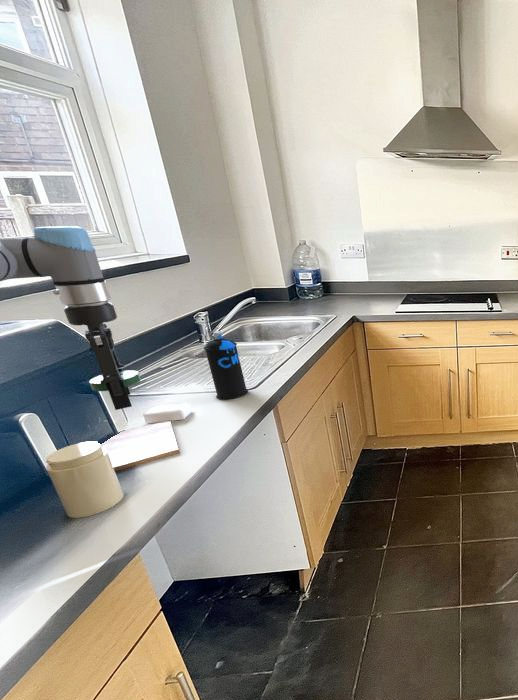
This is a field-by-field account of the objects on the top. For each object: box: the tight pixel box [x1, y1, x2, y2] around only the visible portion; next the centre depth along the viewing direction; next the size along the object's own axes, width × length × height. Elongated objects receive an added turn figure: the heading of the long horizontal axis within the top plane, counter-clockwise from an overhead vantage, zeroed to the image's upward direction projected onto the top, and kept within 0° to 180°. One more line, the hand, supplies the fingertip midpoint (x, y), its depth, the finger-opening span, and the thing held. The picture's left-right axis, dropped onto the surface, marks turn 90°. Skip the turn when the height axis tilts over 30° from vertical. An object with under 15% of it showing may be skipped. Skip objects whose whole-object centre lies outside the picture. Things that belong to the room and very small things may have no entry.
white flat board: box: [101, 420, 181, 472], centre depth 99 cm, size 20×14×1 cm
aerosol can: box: [203, 330, 249, 401], centre depth 125 cm, size 8×8×20 cm
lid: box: [88, 369, 142, 392], centre depth 93 cm, size 8×8×2 cm
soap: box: [143, 402, 192, 424], centre depth 113 cm, size 9×6×3 cm, turn 107°
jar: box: [45, 441, 125, 519], centre depth 77 cm, size 8×8×12 cm
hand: (123, 401), depth 95 cm, fingers closed on lid, 8 cm apart
